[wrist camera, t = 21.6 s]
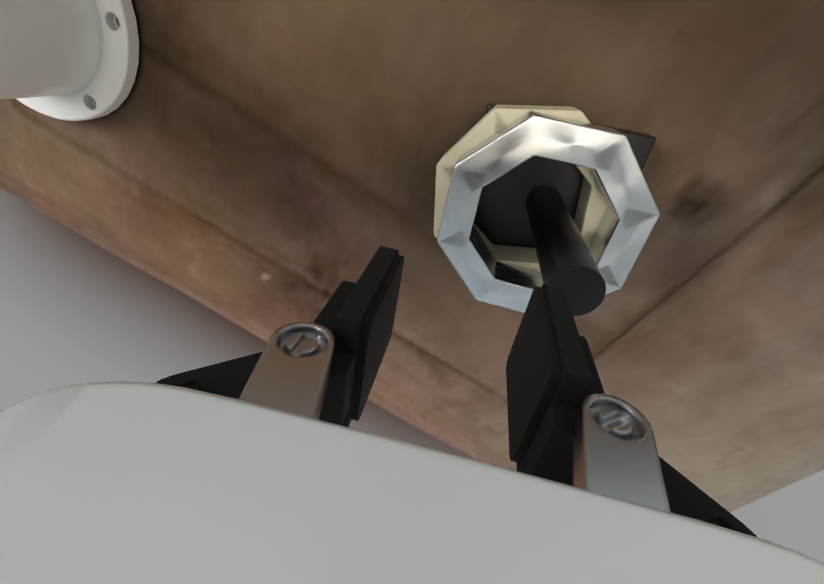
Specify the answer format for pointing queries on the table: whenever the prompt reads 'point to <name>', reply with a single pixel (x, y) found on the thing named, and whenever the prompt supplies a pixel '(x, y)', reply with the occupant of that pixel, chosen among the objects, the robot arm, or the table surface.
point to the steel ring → (557, 141)
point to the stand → (549, 221)
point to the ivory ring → (493, 121)
